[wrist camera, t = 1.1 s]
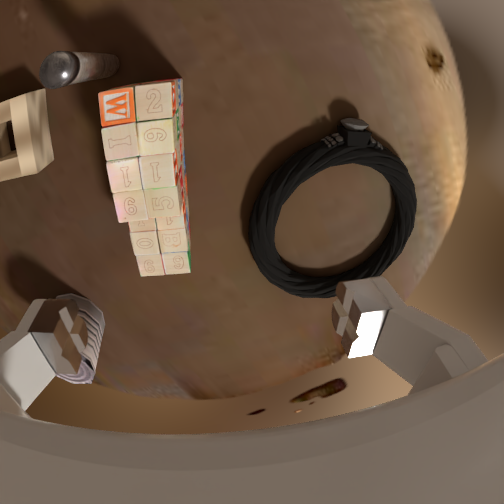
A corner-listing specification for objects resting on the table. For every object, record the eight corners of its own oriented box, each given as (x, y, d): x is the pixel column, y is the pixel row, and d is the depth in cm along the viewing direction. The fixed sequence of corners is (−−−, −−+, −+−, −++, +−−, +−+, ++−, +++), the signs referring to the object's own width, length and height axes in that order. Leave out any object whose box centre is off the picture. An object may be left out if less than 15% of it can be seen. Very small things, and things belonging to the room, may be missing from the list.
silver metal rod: (95, 56, 25) (38, 57, 14) (119, 51, 26) (72, 46, 15) (96, 79, 27) (40, 92, 16) (120, 75, 28) (73, 84, 16)
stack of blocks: (191, 232, 42) (190, 291, 32) (148, 235, 41) (135, 295, 31) (182, 76, 29) (172, 80, 20) (130, 82, 29) (96, 92, 19)
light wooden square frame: (-9, 107, 24) (-29, 115, 20) (45, 88, 26) (25, 93, 22) (2, 171, 30) (-16, 185, 26) (54, 159, 32) (37, 173, 28)
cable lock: (251, 313, 48) (249, 120, 31) (248, 296, 51) (244, 115, 34) (396, 291, 51) (440, 133, 34) (387, 278, 55) (425, 126, 37)
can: (101, 341, 52) (92, 391, 43) (51, 323, 48) (34, 372, 38) (110, 304, 47) (97, 361, 38) (52, 284, 43) (29, 337, 33)
